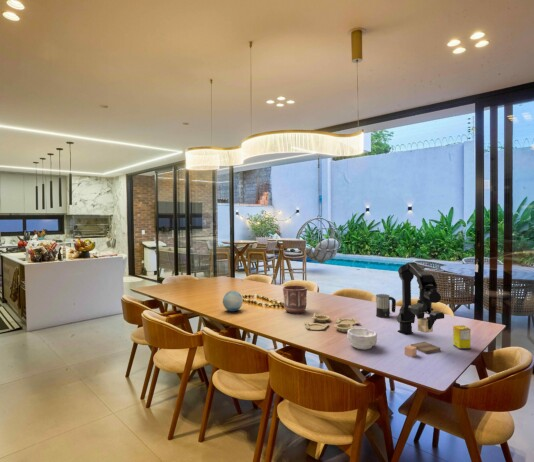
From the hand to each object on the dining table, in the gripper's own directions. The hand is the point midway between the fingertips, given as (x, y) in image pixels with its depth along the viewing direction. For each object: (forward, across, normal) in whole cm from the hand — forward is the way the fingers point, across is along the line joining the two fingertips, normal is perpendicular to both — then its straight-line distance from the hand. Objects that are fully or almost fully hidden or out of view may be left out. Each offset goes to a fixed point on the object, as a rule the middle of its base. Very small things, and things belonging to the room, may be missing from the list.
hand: (425, 328), depth 177 cm
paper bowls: (+11, -16, -28) cm, 34 cm away
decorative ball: (+12, -113, -71) cm, 134 cm away
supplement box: (+11, +6, +19) cm, 23 cm away
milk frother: (+12, -60, +24) cm, 66 cm away
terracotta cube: (+11, +3, -13) cm, 17 cm away
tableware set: (+12, -54, -22) cm, 59 cm away
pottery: (+12, -93, -29) cm, 98 cm away
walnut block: (+12, 0, 0) cm, 12 cm away
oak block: (+2, 0, 0) cm, 2 cm away
